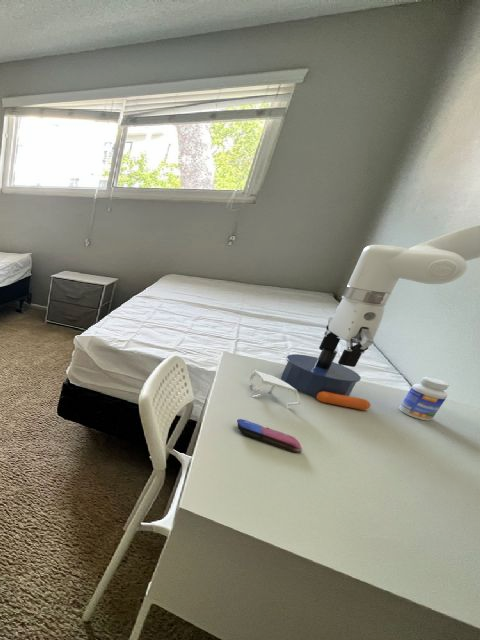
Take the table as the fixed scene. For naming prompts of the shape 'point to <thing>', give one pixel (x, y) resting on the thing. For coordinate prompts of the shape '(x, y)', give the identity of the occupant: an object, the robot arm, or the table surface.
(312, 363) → the pot lid
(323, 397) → the carrot
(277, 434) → the eraser
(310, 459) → the table surface
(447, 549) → the table surface
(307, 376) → the pot
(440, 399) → the pill bottle
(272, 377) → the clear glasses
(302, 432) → the table surface
